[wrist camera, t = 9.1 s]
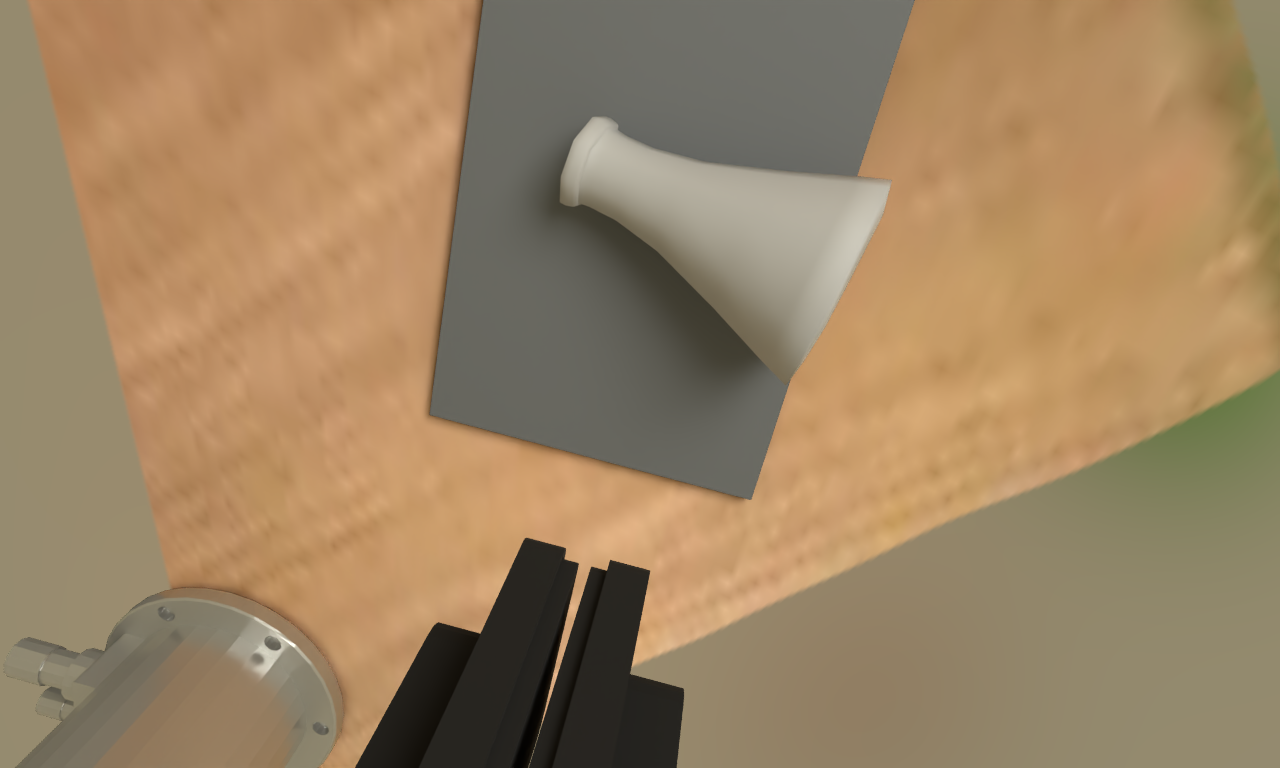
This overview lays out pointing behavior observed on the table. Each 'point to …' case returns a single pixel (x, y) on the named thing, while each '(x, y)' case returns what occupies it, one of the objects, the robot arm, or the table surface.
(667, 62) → the mat
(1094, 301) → the table surface
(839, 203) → the flask
